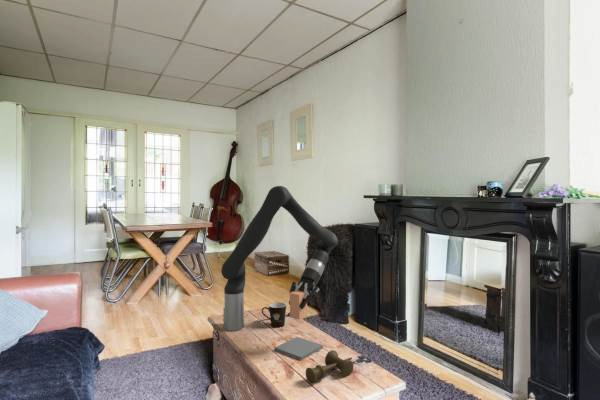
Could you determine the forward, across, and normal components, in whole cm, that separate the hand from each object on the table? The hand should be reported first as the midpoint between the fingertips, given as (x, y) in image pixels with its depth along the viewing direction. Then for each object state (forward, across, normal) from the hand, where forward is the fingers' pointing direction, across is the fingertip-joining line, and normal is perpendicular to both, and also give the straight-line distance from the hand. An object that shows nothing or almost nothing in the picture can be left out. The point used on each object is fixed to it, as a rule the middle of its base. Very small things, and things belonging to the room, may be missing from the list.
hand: (295, 306), depth 137 cm
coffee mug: (+2, -27, +24) cm, 36 cm away
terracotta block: (+2, 0, +5) cm, 5 cm away
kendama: (+18, +22, +8) cm, 29 cm away
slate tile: (+11, 0, +14) cm, 18 cm away
